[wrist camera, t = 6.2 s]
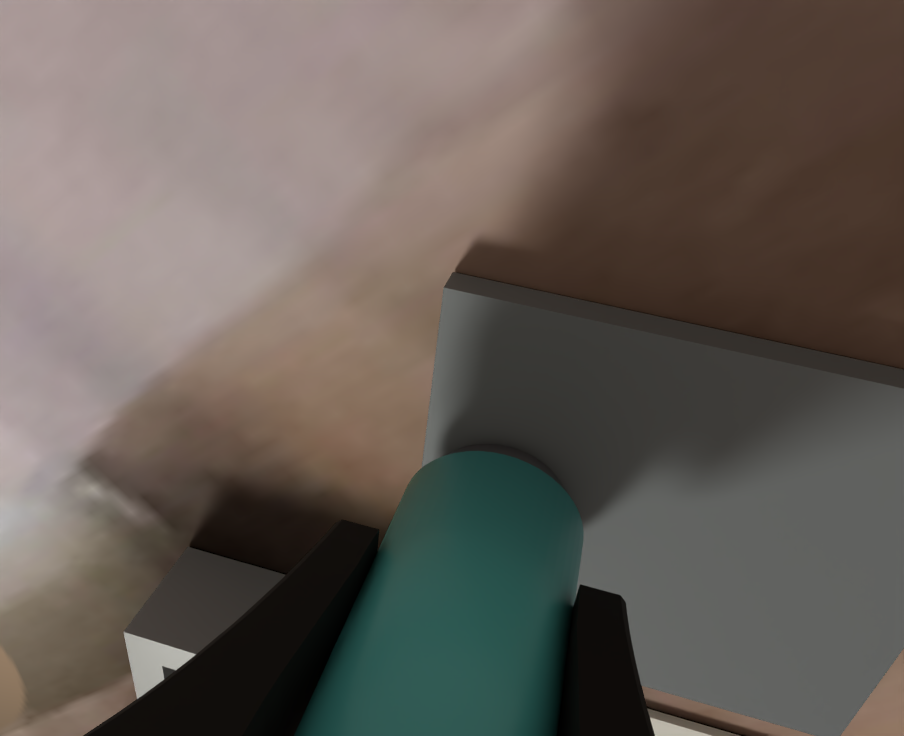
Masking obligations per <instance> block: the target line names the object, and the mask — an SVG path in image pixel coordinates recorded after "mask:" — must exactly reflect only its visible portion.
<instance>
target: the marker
mask: <svg viewBox="0 0 904 736" xmlns="http://www.w3.org/2000/svg"><path fill="white" fill-rule="evenodd" d="M583 536H584V530H583V524H582V520H581V517H580V514H579V511H578V509H577V507H576V505H575V503H574V502H573V500H572V499H571V497H570V496H569V494H568V493H567V492H566V491H565V489H564V487H563V485H562V483H561V482H560V480H559V479H558V477H557V476H556V475H555V474H554V473H553V472H552V470H551V469H549V468H548V467H547V466H546V465H545V464H544V463H542V462H541V461H539V460H538V459H536V458H535V457H533V456H531V455H529V454H527V453H525V452H523V451H520V450H518V449H514V448H511V447H507V446H502V445H495V444H477V445H470V446H466V447H462V448H460V449H457V450H455V451H453V452H451V453H449V454H448V455H445V456H442V457H440V458H437V459H435V460H433V461H432V462H430V463H428V464H426V465H425V466H424V467H423V468H421V469H420V470H419V471H418V472H417V473H416V474H415V475H414V476H413V478H412V479H411V481H410V482H409V484H408V486H407V488H406V490H405V492H404V495H403V497H402V499H401V501H400V503H399V506H398V508H397V510H396V512H395V514H394V517H393V519H392V521H391V523H390V525H389V528H388V530H387V532H386V534H385V536H384V538H383V541H382V543H381V545H380V547H379V549H378V552H377V554H376V556H375V558H374V560H373V563H372V565H371V567H370V569H369V571H368V574H367V576H366V578H365V580H364V582H363V585H362V587H361V589H360V591H359V593H358V596H357V598H356V600H355V602H354V604H353V607H352V609H351V611H350V613H349V615H348V618H347V620H346V622H345V624H344V626H343V629H342V631H341V633H340V635H339V637H338V640H337V642H336V644H335V646H334V648H333V650H332V653H331V655H330V657H329V659H328V661H327V664H326V666H325V668H324V670H323V672H322V675H321V677H320V679H319V681H318V683H317V686H316V688H315V690H314V692H313V694H312V697H311V699H310V701H309V703H308V705H307V708H306V710H305V712H304V714H303V716H302V719H301V721H300V723H299V725H298V727H297V730H296V732H295V734H294V736H557V731H558V724H559V716H560V709H561V701H562V691H563V682H564V672H565V662H566V655H567V648H568V640H569V633H570V626H571V618H572V611H573V605H574V602H575V599H576V591H577V584H578V577H579V569H580V562H581V554H582V547H583Z"/></svg>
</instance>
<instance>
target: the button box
mask: <svg viewBox="0 0 904 736" xmlns="http://www.w3.org/2000/svg"><path fill="white" fill-rule="evenodd" d="M284 576H285V574H281V573H278V572H274V571H271V570H267V569H264V568H260V567H257V566H253V565H250V564H246V563H243V562H239V561H236V560H232V559H229V558H225V557H222V556H218V555H215V554H211V553H208V552H204V551H201V550H197V549H194V548H190V547H187V549H186V550H185V551H184V553H183V554H182V555H181V557H180V558H179V559H178V561H177V562H176V563H175V564H174V566H173V567H172V568H171V570H170V571H169V572H168V574H167V575H166V576H165V578H164V579H163V580H162V582H161V583H160V584H159V586H158V587H157V588H156V590H155V591H154V592H153V594H152V595H151V596H150V598H149V599H148V600H147V602H146V603H145V604H144V605H143V607H142V608H141V609H140V611H139V612H138V613H137V615H136V616H135V617H134V619H133V620H132V621H131V623H130V624H129V625H128V627H127V628H126V629H125V631H124V637H125V641H126V646H127V651H128V656H129V661H130V666H131V671H132V676H133V681H134V686H135V691H136V695H137V699H138V698H139V697H141V696H142V695H143V694H145V693H146V692H148V691H149V690H150V689H152V688H153V687H155V686H156V685H157V684H159V683H160V682H161V681H163V680H164V679H165V678H167V677H168V676H169V675H171V674H172V673H173V672H174V671H176V670H177V669H178V668H180V667H181V666H182V665H183V664H185V663H186V662H187V661H189V660H190V659H191V658H192V657H193V656H195V655H196V654H197V653H198V652H199V651H201V650H202V649H203V648H204V647H205V646H207V645H208V644H209V643H210V642H211V641H213V640H214V639H215V638H216V637H218V636H219V635H220V634H221V633H222V632H224V631H225V630H226V629H227V628H228V627H230V626H231V625H232V624H233V623H234V622H235V621H237V620H238V619H239V618H240V617H241V616H242V615H243V614H244V613H246V612H247V611H248V610H249V609H250V608H251V607H252V606H253V605H254V604H255V603H256V602H257V601H259V600H260V599H261V598H262V597H263V596H264V595H265V594H266V593H267V592H268V591H269V590H271V589H272V588H273V587H274V586H275V585H276V584H277V583H278V582H279V581H280V580H281V579H282V578H283V577H284Z"/></svg>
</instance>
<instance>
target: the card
mask: <svg viewBox="0 0 904 736" xmlns="http://www.w3.org/2000/svg"><path fill="white" fill-rule="evenodd" d="M648 713H649V716H650V720H651V723H652V727H653V730H654V734H655V736H740V735H736V734H733V733H729V732H726V731H723V730H719V729H716V728H712V727H709V726H705V725H702V724H699V723H695V722H692V721H688V720H685V719H681V718H678V717H675V716H671V715H668V714H664V713H661V712H658V711H654V710H651V709H648Z"/></svg>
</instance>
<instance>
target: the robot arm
mask: <svg viewBox="0 0 904 736" xmlns="http://www.w3.org/2000/svg"><path fill="white" fill-rule="evenodd" d="M378 537H379V529H375V528H371V527H368V526H364V525H360V524H357V523H353V522H349V521H346V520H341V521H339V522H337V523H335V524H334V525H333V526H332V528H331V529H330V530H329V531H328V532H327V533H326V534H325V535H324V536H323V537H322V539H321V540H320V541H319V542H318V543H317V544H316V545H315V546H314V547H313V548H312V549H311V550H310V551H309V552H308V553H307V554H306V555H305V556H304V557H303V558H302V559H301V560H300V561H299V562H298V563H297V564H296V565H295V566H294V567H293V568H292V569H291V570H290V571H289V572H288V573H287V574H286V575H285V576H284V577H283V578H282V579H281V580H280V581H279V582H278V583H277V584H276V585H275V586H274V587H273V588H272V589H271V590H269V591H268V592H267V593H266V594H265V595H264V596H263V597H262V598H261V599H260V600H259V601H257V602H256V603H255V604H254V605H253V606H252V607H251V608H250V609H249V610H248V611H247V612H246V613H244V614H243V615H242V616H241V617H240V618H239V619H238V620H237V621H235V622H234V623H233V624H232V625H231V626H230V627H228V628H227V629H226V630H225V631H224V632H222V633H221V634H220V635H219V636H218V637H216V638H215V639H214V640H213V641H211V642H210V643H209V644H208V645H207V646H205V647H204V648H203V649H202V650H201V651H199V652H198V653H197V654H196V655H195V656H193V657H192V658H191V659H190V660H189V661H187V662H186V663H185V664H183V665H182V666H181V667H180V668H178V669H177V670H176V671H174V672H173V673H172V674H171V675H169V676H168V677H167V678H165V679H164V680H163V681H161V682H160V683H159V684H157V685H156V686H155V687H153V688H152V689H150V690H149V691H148V692H146V693H145V694H143V695H142V696H141V697H139V698H138V699H137V700H135V701H134V702H132V703H131V704H130V705H128V706H127V707H125V708H124V709H122V710H121V711H120V712H118V713H117V714H115V715H114V716H112V717H111V718H109V719H108V720H106V721H105V722H103V723H102V724H100V725H99V726H97V727H96V728H94V729H93V730H91V731H90V732H88V733H87V734H85V735H84V736H294V734H295V732H296V730H297V727H298V725H299V723H300V721H301V719H302V716H303V714H304V712H305V710H306V708H307V705H308V703H309V701H310V699H311V697H312V694H313V692H314V690H315V688H316V686H317V683H318V681H319V679H320V677H321V675H322V672H323V670H324V668H325V666H326V664H327V661H328V659H329V657H330V655H331V653H332V650H333V648H334V646H335V644H336V642H337V640H338V637H339V635H340V633H341V631H342V629H343V626H344V624H345V622H346V620H347V618H348V615H349V613H350V611H351V609H352V607H353V604H354V602H355V600H356V598H357V596H358V593H359V591H360V589H361V587H362V585H363V582H364V580H365V578H366V576H367V574H368V571H369V569H370V567H371V565H372V563H373V560H374V558H375V556H376V554H377V548H378ZM557 736H655V734H654V730H653V727H652V723H651V720H650V716H649V713H648V709H647V706H646V702H645V698H644V694H643V690H642V686H641V682H640V678H639V673H638V669H637V665H636V660H635V656H634V651H633V646H632V640H631V635H630V629H629V623H628V616H627V608H626V602H625V601H624V599H623V598H622V596H621V595H618V594H614V593H611V592H607V591H603V590H600V589H596V588H592V587H589V586H585V585H581V584H580V586H579V589H578V593H577V596H576V599H575V602H574V605H573V611H572V618H571V626H570V633H569V640H568V648H567V655H566V662H565V672H564V682H563V691H562V701H561V709H560V716H559V724H558V731H557Z"/></svg>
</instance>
